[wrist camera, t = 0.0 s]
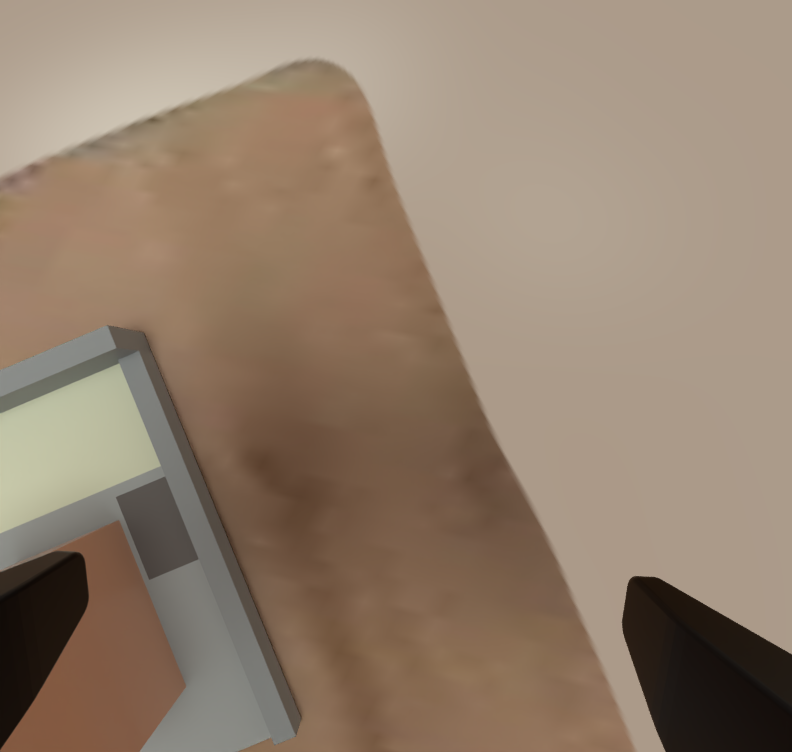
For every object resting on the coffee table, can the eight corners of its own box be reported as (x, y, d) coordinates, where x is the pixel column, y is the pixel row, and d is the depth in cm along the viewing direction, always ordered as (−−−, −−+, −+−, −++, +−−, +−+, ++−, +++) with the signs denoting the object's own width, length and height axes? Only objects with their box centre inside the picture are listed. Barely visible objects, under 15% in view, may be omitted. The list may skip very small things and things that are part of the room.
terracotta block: (186, 686, 24) (26, 907, 14) (83, 729, 24) (-152, 981, 14) (119, 520, 24) (-88, 616, 14) (16, 562, 24) (-263, 690, 14)
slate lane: (301, 718, 24) (286, 766, 21) (37, 828, 24) (-15, 891, 21) (143, 332, 24) (107, 325, 21) (-115, 441, 25) (-188, 449, 22)
